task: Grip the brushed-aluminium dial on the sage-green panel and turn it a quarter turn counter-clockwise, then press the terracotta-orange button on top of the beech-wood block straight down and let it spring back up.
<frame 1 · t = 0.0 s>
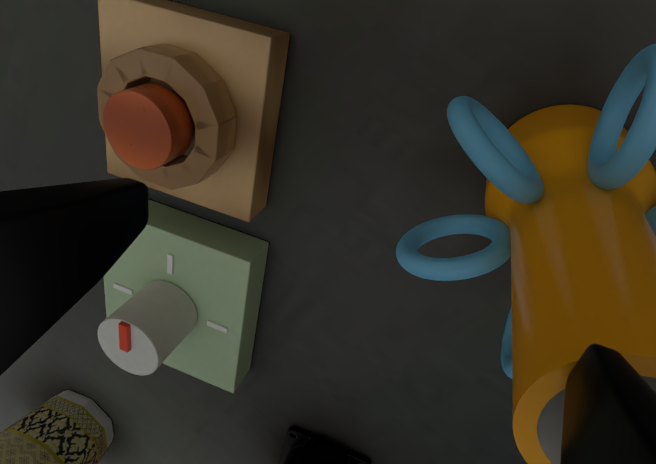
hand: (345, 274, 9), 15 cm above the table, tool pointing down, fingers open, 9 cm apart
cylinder: (556, 168, 22), on the table, touching gripper
top button: (148, 126, 22), point 5 cm above the table, slide at 0.2 cm
dial panel: (192, 285, 32), on the table
ceramic cup: (73, 409, 45), on the table
dial: (148, 327, 28), point 5 cm above the table, hinge at 0.0°
button block: (201, 104, 26), on the table
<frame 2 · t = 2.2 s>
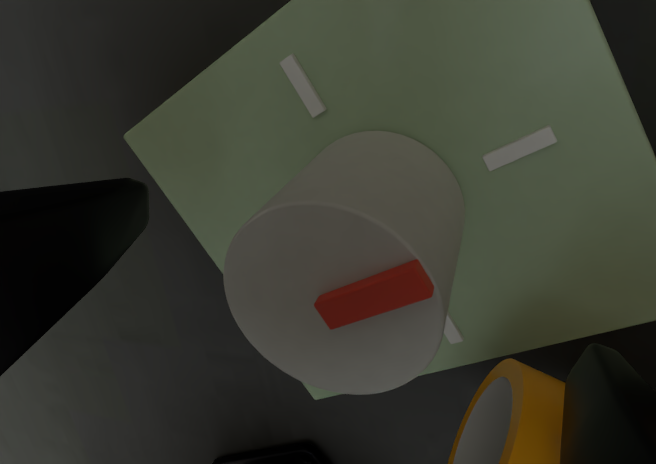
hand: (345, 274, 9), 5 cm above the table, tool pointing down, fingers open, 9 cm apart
dial panel: (400, 174, 14), on the table
dial: (354, 255, 10), point 5 cm above the table, hinge at 0.0°
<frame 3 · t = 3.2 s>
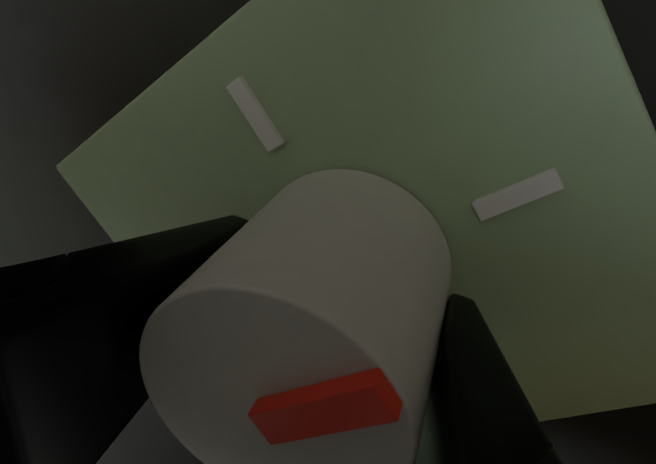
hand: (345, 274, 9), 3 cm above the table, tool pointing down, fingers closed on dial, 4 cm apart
dial panel: (379, 209, 12), on the table
dial: (314, 327, 8), point 5 cm above the table, hinge at 0.0°, touching gripper
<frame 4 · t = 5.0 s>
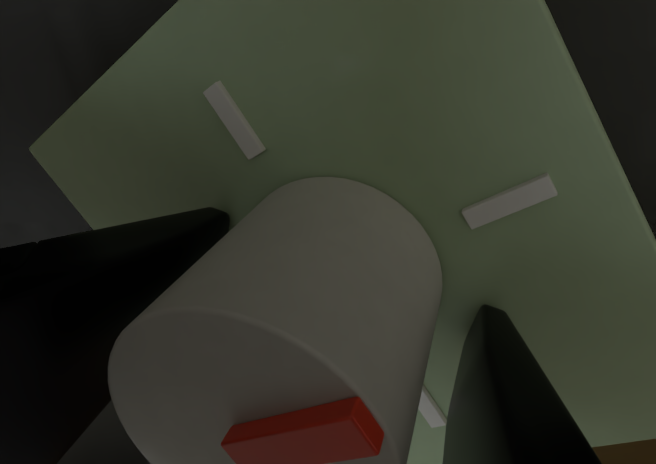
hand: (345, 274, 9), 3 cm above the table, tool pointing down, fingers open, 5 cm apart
dial panel: (369, 216, 11), on the table
dial: (296, 344, 7), point 5 cm above the table, hinge at 89.4°
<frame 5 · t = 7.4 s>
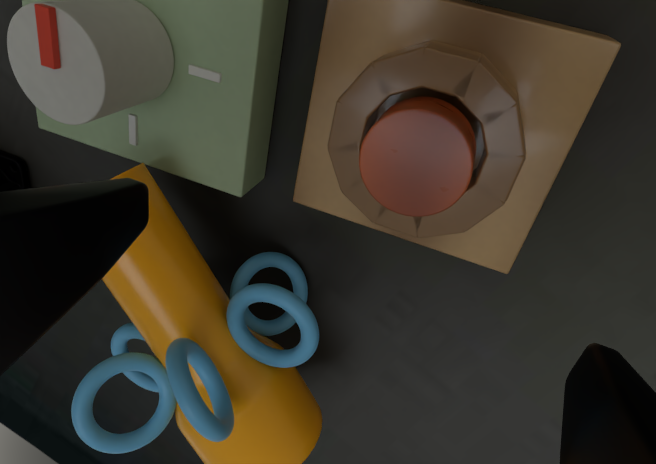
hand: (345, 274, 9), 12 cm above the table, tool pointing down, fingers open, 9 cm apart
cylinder: (274, 447, 24), point 5 cm above the table
top button: (417, 157, 16), point 5 cm above the table, slide at 0.2 cm
dial panel: (168, 43, 22), on the table
dial: (94, 59, 18), point 5 cm above the table, hinge at 89.4°
button block: (435, 121, 20), on the table
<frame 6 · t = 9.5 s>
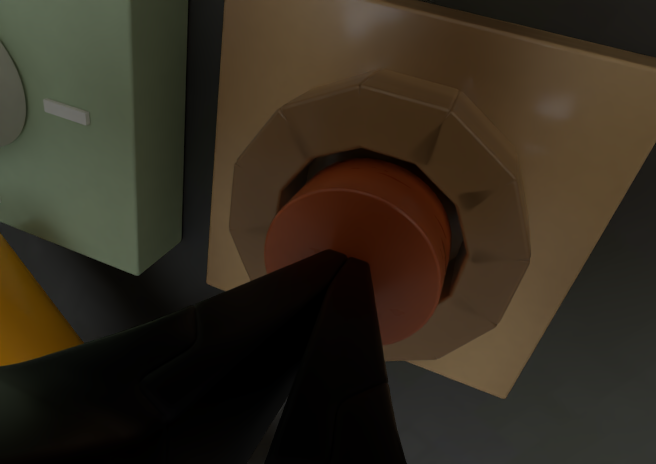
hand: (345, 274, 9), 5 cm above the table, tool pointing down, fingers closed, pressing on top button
top button: (359, 252, 10), point 4 cm above the table, slide at 0.0 cm, touching gripper
dial panel: (42, 65, 16), on the table
button block: (400, 177, 14), on the table
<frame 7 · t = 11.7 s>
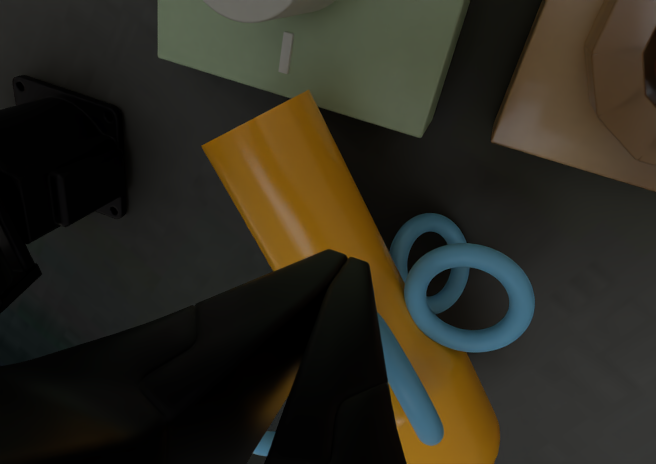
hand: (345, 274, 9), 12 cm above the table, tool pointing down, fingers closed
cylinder: (433, 450, 20), point 5 cm above the table
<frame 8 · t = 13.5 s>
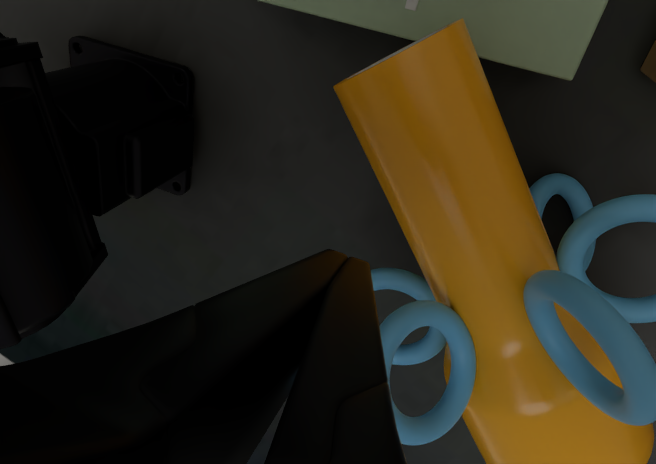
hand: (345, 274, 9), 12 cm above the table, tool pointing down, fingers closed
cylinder: (563, 438, 18), point 5 cm above the table
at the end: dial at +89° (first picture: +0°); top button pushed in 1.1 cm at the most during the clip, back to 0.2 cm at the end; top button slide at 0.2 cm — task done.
